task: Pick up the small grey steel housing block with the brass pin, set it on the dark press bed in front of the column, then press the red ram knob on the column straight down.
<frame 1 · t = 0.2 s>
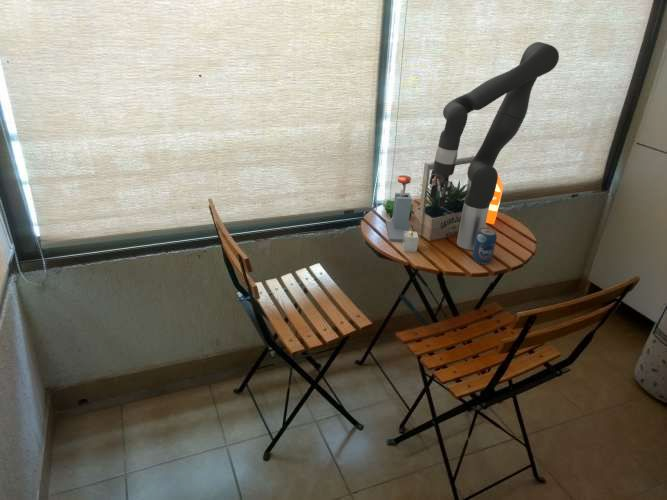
hand: (436, 201, 188), 18 cm above the table, tool pointing down, fingers open, 8 cm apart
ram: (402, 193, 201), point 15 cm above the table, slide at 0.0 cm
soda can: (481, 260, 187), on the table
housing: (408, 248, 192), on the table
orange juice: (486, 219, 221), on the table
clamp: (397, 217, 218), on the table
press: (400, 237, 200), on the table
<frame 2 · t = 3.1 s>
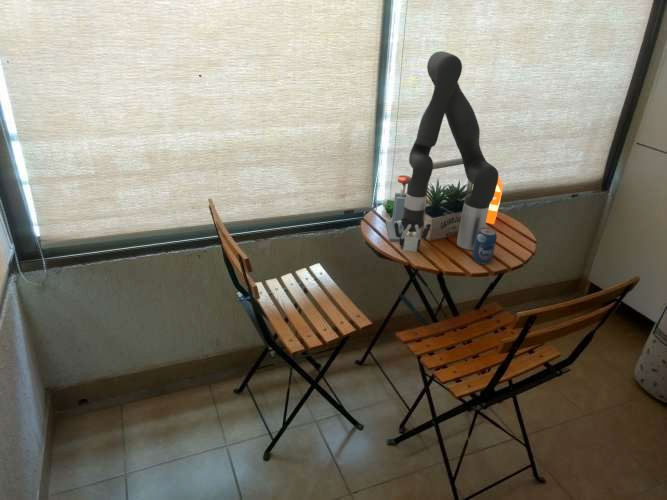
hand: (409, 246, 192), 1 cm above the table, tool pointing down, fingers closed on housing, 5 cm apart
housing: (408, 248, 192), on the table, touching gripper
everything else where it was.
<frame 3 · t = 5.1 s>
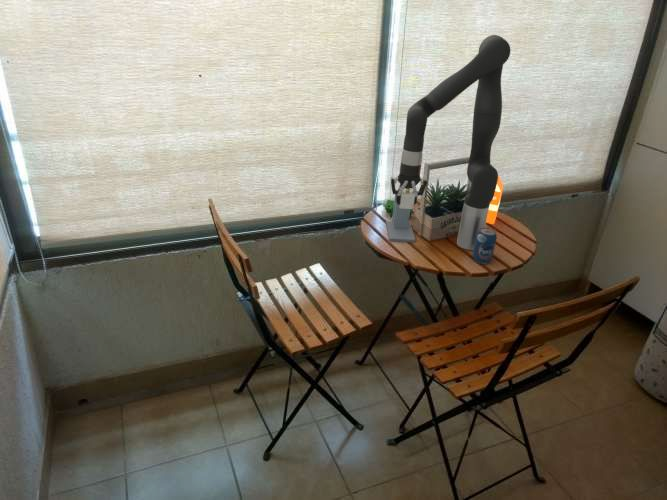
hand: (405, 204, 192), 15 cm above the table, tool pointing down, fingers closed on housing, 5 cm apart
housing: (405, 206, 193), point 14 cm above the table, touching gripper
everything else where it was.
when the fingers open (3 cm above the table, at t = 7.1 s): housing drops 1 cm, resting on press.
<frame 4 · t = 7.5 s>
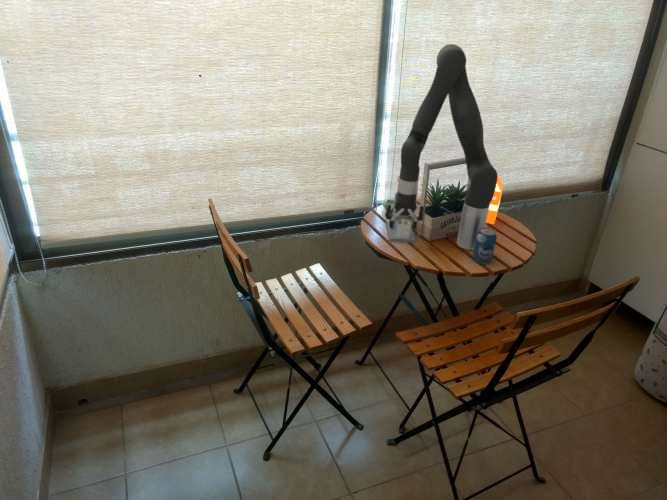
hand: (402, 229, 197), 4 cm above the table, tool pointing down, fingers open, 8 cm apart
housing: (401, 235, 199), point 1 cm above the table, touching press
everything else where it was.
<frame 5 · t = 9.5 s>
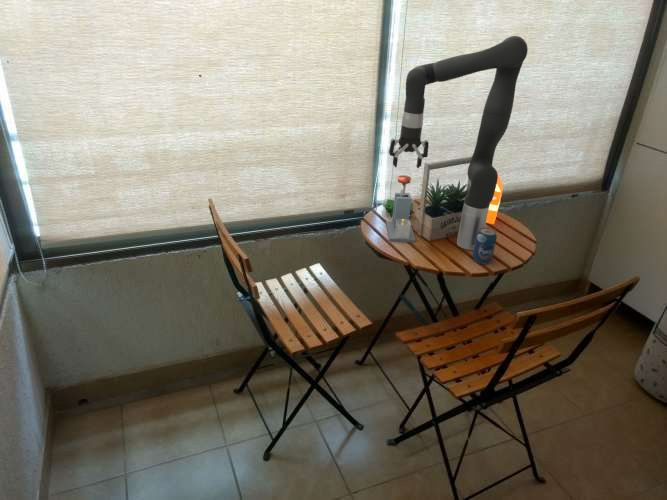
hand: (406, 166, 192), 27 cm above the table, tool pointing down, fingers open, 8 cm apart
nothing on the table moved.
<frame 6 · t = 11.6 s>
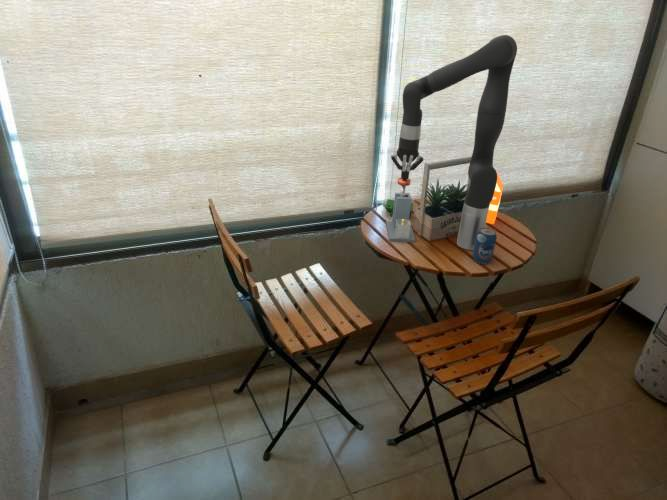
hand: (404, 179, 198), 21 cm above the table, tool pointing down, fingers closed
ram: (402, 195, 202), point 14 cm above the table, slide at 0.9 cm, touching gripper
everything else where it was.
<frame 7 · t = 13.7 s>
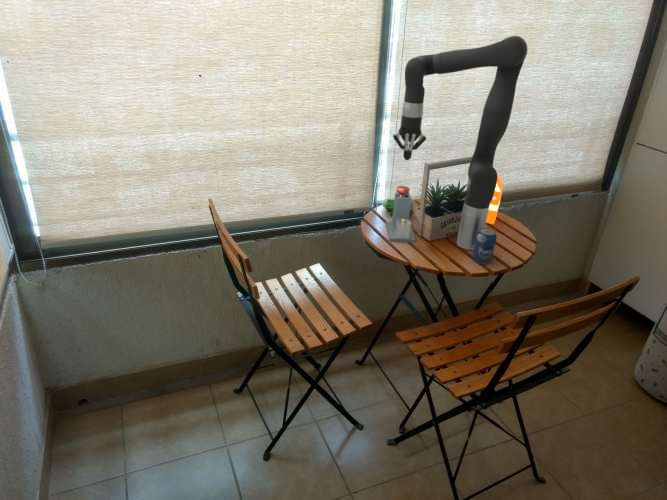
hand: (406, 159, 195), 29 cm above the table, tool pointing down, fingers closed
ram: (401, 204, 203), point 10 cm above the table, slide at 4.5 cm
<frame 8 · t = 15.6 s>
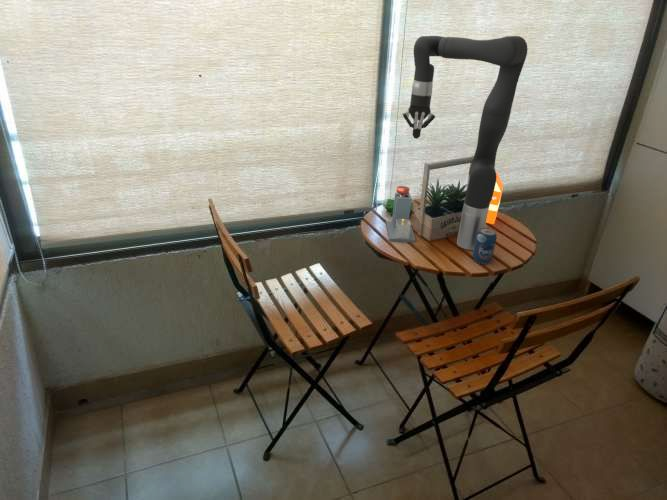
hand: (415, 137, 200), 35 cm above the table, tool pointing down, fingers closed
at the end: housing inside the target area on the press (1.2 cm from its centre), point 1.2 cm above the press's base; housing tilted 0°; ram slide at 4.5 cm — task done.
